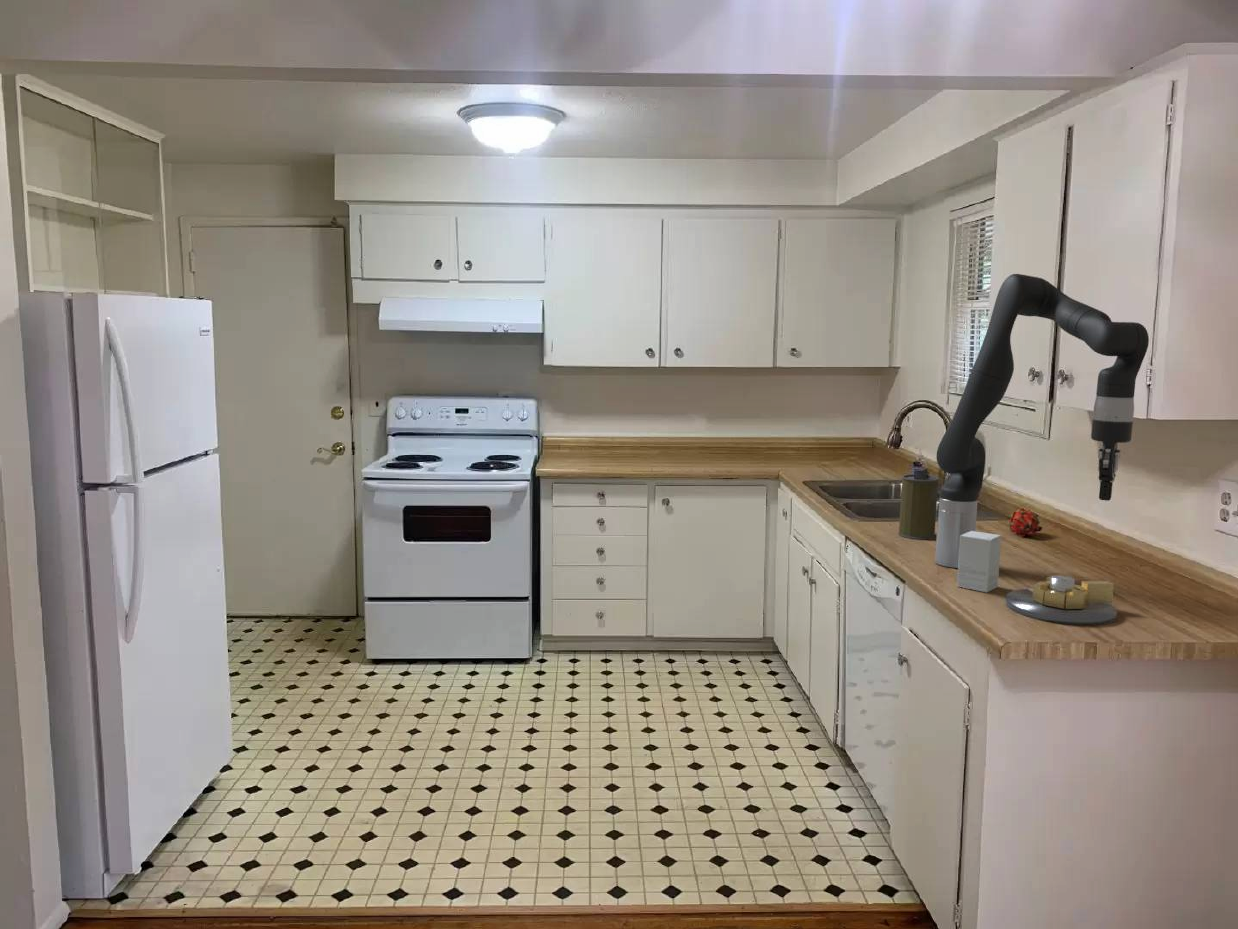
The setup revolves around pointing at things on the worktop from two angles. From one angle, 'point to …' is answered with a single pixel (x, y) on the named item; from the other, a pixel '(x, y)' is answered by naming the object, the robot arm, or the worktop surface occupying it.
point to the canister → (918, 505)
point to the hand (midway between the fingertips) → (1104, 499)
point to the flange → (1086, 616)
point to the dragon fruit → (1024, 523)
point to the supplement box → (979, 561)
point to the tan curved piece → (1073, 594)
